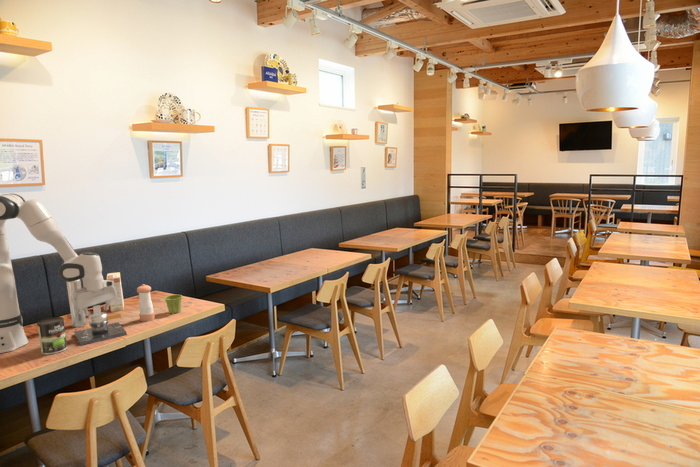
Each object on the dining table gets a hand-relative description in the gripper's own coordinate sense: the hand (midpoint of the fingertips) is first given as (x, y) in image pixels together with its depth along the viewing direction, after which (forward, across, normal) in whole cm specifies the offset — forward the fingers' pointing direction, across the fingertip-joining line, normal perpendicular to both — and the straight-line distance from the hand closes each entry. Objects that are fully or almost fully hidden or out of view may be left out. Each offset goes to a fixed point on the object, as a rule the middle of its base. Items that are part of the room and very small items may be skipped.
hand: (97, 312), depth 233 cm
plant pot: (+11, +40, -7) cm, 42 cm away
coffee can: (+11, -22, +1) cm, 24 cm away
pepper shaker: (+11, +25, -3) cm, 28 cm away
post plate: (+11, 0, 0) cm, 11 cm away
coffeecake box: (+11, +33, +33) cm, 48 cm away
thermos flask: (+11, +4, +24) cm, 27 cm away
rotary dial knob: (+6, +3, -2) cm, 7 cm away
